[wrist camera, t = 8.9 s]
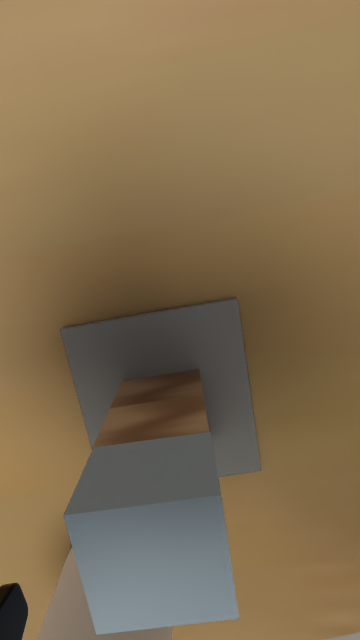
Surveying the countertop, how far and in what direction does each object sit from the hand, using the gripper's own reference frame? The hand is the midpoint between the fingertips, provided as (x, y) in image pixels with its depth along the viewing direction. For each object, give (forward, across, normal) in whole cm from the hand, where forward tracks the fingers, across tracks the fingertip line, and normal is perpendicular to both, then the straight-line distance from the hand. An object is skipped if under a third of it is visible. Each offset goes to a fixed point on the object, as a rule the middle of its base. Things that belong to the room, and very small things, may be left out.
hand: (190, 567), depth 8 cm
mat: (+13, +2, +2) cm, 13 cm away
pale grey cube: (+5, +2, +2) cm, 6 cm away
